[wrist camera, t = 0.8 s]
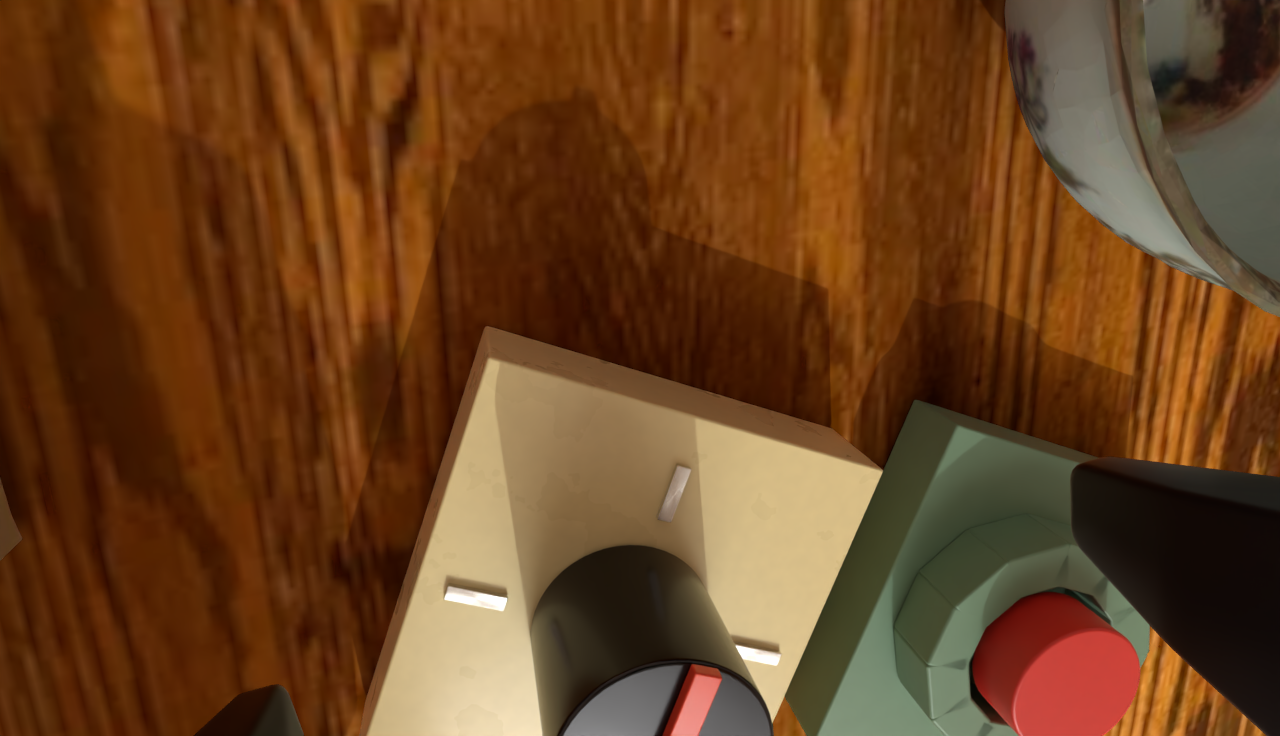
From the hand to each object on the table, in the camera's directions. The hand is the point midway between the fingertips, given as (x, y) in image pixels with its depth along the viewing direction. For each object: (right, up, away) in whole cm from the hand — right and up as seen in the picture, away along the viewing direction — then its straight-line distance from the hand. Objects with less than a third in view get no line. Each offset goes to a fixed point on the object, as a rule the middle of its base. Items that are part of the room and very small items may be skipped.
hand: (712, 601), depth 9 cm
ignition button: (+10, -5, +13) cm, 17 cm away
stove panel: (-2, -3, +14) cm, 14 cm away
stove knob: (-1, -4, +11) cm, 11 cm away
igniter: (+9, -4, +16) cm, 19 cm away
